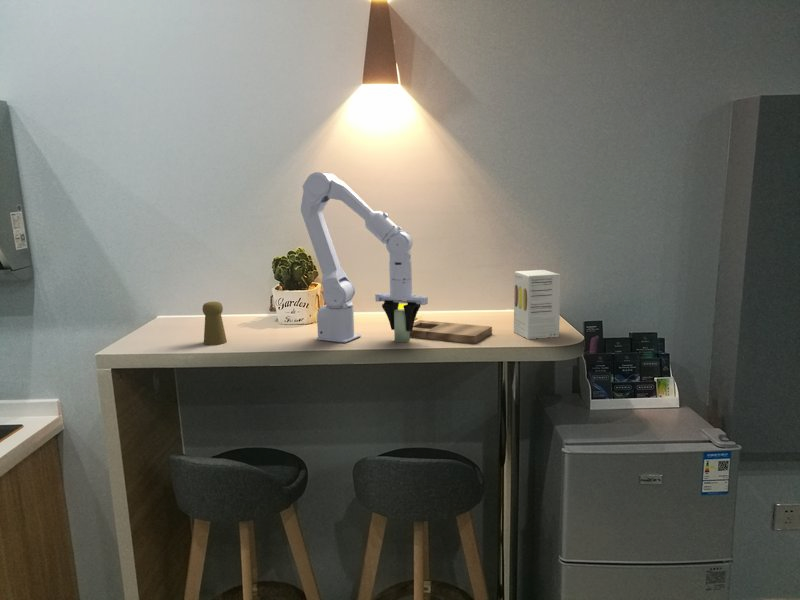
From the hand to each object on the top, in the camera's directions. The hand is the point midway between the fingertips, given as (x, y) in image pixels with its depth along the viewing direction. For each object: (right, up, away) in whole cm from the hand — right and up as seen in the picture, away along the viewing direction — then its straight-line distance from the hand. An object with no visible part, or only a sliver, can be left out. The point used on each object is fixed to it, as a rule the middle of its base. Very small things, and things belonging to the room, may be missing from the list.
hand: (401, 329), depth 168 cm
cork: (-50, -4, +3) cm, 50 cm away
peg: (0, -3, +1) cm, 3 cm away
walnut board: (+12, -2, +5) cm, 13 cm away
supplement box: (+36, -2, +3) cm, 36 cm away
